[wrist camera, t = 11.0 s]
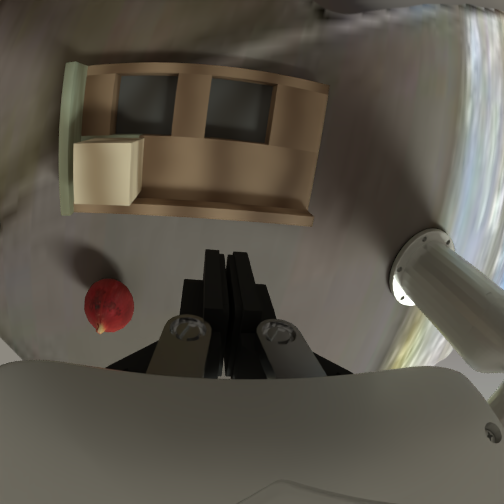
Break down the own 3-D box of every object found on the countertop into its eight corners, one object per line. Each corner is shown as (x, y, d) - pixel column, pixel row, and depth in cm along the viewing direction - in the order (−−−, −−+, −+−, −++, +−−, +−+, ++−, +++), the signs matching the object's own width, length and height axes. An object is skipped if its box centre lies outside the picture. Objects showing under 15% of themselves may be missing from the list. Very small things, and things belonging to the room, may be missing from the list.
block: (144, 138, 24) (131, 143, 20) (141, 190, 26) (129, 205, 22) (94, 137, 23) (73, 143, 19) (93, 188, 25) (74, 203, 21)
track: (320, 87, 27) (342, 83, 22) (298, 211, 32) (315, 230, 28) (88, 69, 22) (66, 62, 17) (81, 198, 28) (61, 215, 23)
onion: (90, 267, 31) (66, 306, 24) (134, 265, 32) (118, 306, 25) (101, 307, 34) (84, 349, 27) (142, 306, 35) (132, 351, 28)
